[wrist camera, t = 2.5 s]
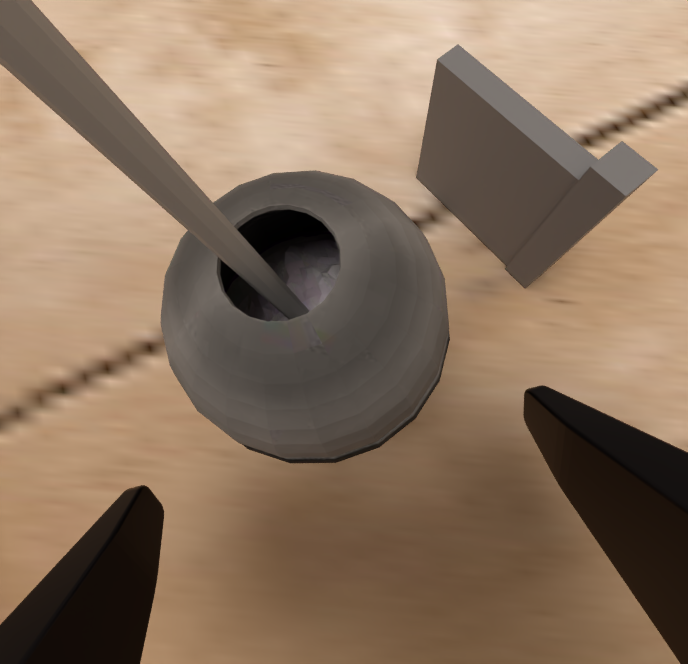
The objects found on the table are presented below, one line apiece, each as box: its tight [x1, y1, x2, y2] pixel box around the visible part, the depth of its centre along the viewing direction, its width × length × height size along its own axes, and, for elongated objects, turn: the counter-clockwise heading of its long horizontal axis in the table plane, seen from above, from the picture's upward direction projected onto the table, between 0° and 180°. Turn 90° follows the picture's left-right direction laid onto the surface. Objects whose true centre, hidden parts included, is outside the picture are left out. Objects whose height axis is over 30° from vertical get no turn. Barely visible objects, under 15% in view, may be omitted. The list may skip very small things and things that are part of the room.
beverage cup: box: [0, 0, 450, 463], centre depth 12 cm, size 7×7×20 cm
